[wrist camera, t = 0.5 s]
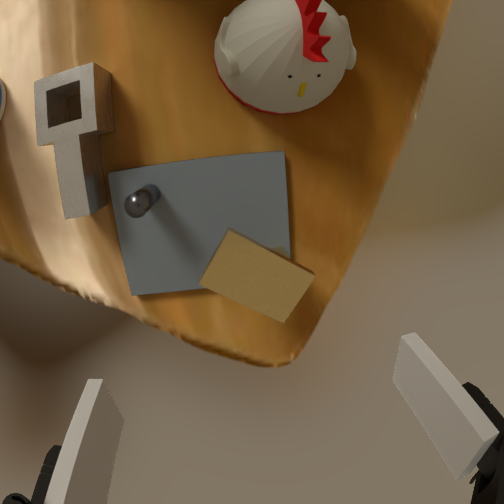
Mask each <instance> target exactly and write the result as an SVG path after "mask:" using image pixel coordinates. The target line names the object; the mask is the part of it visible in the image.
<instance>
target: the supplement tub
mask: <svg viewBox="0 0 504 504" xmlns="http://www.w3.org/2000/svg"><path fill="white" fill-rule="evenodd" d="M5 103H6V92H5V87H4V84H3V82H2V80H1V79H0V120H1V118H2V115H3V112H4V109H5Z"/></svg>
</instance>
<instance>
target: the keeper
mask: <svg viewBox="0 0 504 504" xmlns="http://www.w3.org/2000/svg"><path fill="white" fill-rule="evenodd" d="M315 277H316V276H315V274H314V273H313V271H312V270H310V269H308V268H306V267H304V266H302V265H300V264H298V263H297V262H295V261H293V260H291V259H290V258H289V256H288V255H287V253H286V251H285V250H284V248H283V247H273V248H269V247H267V246H265V245H263V244H261V243H259V242H257V241H255V240H253V239H252V238H250V237H248V236H246V235H244V234H242V233H240V232H238V231H236V230H235V229H233V228H231V227H228V228H227V230H226V232H225V234H224V235H223V237H222V239H221V241H220V242H219V244H218V246H217V248H216V249H215V251H214V253H213V255H212V257H211V258H210V260H209V262H208V264H207V266H206V267H205V269H204V271H203V273H202V275H201V276H200V278H199V285H201V286H203V287H205V288H208V289H210V290H212V291H214V292H216V293H218V294H220V295H222V296H224V297H227V298H229V299H231V300H233V301H235V302H237V303H240V304H242V305H244V306H246V307H248V308H251V309H253V310H255V311H257V312H259V313H262V314H264V315H266V316H268V317H271V318H273V319H275V320H277V321H280V322H282V323H284V322H285V321H286V319H287V318H288V316H289V315H290V314H291V312H292V311H293V309H294V308H295V306H296V305H297V303H298V302H299V301H300V299H301V298H302V296H303V295H304V293H305V292H306V290H307V289H308V287H309V286H310V284H311V283H312V281H313V280H314V278H315Z"/></svg>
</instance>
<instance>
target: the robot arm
mask: <svg viewBox="0 0 504 504" xmlns="http://www.w3.org/2000/svg"><path fill="white" fill-rule="evenodd" d="M392 381H393V382H394V384H395V385H396V387H397V388H398V390H399V392H400V393H401V395H402V396H403V397H404V399H405V401H406V402H407V404H408V405H409V407H410V408H411V410H412V412H413V413H414V415H415V416H416V418H417V419H418V421H419V423H420V424H421V426H422V427H423V429H424V430H425V432H426V434H427V435H428V437H429V438H430V440H431V442H432V443H433V445H434V446H435V448H436V450H437V451H438V453H439V454H440V456H441V458H442V460H443V461H444V463H445V465H446V466H447V468H448V469H449V471H450V473H451V474H452V476H453V478H454V480H455V481H457V480H458V479H460V478H462V477H464V476H466V475H467V474H469V473H471V471H472V470H473V469H474V467H475V466H476V465H477V467H478V468H479V470H478V472H477V473H476V474H475V475H474V476H473V478H472V479H471V481H470V484H472V483H473V482H474V480H475V479H476V481H475V486H474V491H473V495H472V500H471V504H504V418H503V416H502V415H501V414H500V413H499V412H498V410H497V409H496V408H495V407H494V406H493V405H492V404H490V401H489V400H488V399H487V398H485V395H484V394H483V393H482V392H481V391H480V389H479V388H477V387H476V386H474V385H473V384H471V383H469V382H467V383H465V384H463V385H461V384H460V383H459V382H458V381H457V379H456V378H455V377H454V376H453V375H452V374H451V372H450V371H449V370H448V369H447V368H446V367H445V365H443V363H442V362H441V361H440V360H439V359H438V357H437V356H436V355H435V354H434V353H433V352H432V351H431V350H430V348H429V347H428V346H427V345H426V344H425V343H424V342H423V341H422V340H421V339H420V337H419V336H418V335H417V334H416V333H415V332H414V333H410V334H407V335H404V336H401V339H400V344H399V350H398V355H397V360H396V364H395V369H394V374H393V378H392ZM123 422H124V418H123V417H122V415H121V413H120V411H119V409H118V407H117V405H116V404H115V402H114V400H113V398H112V396H111V394H110V393H109V390H108V388H107V386H106V384H105V382H104V380H103V379H88V381H87V384H86V386H85V388H84V391H83V393H82V396H81V398H80V401H79V403H78V406H77V408H76V411H75V413H74V416H73V418H72V421H71V424H70V426H69V429H68V432H67V434H66V437H65V440H64V443H63V445H62V446H58V445H54V446H53V447H52V448H51V449H50V450H49V452H48V453H47V455H46V457H45V460H44V463H43V464H44V465H43V466H42V469H41V474H39V477H38V480H37V483H36V486H35V489H34V492H33V495H32V499H31V501H29V500H28V499H27V498H26V497H25V496H23V495H22V494H19V493H13V494H10V495H8V496H7V497H6V498H5V499H4V501H3V503H2V504H107V499H108V494H109V488H110V483H111V478H112V473H113V468H114V463H115V458H116V453H117V449H118V444H119V440H120V436H121V431H122V427H123Z"/></svg>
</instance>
